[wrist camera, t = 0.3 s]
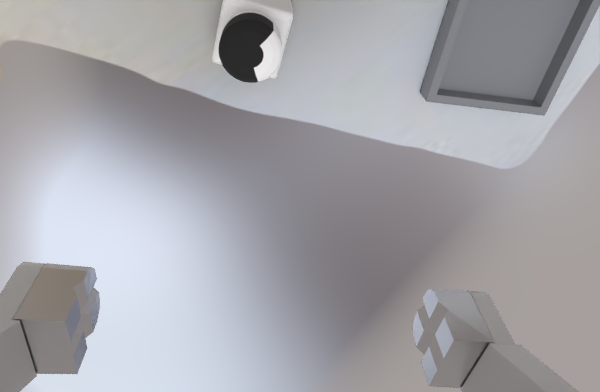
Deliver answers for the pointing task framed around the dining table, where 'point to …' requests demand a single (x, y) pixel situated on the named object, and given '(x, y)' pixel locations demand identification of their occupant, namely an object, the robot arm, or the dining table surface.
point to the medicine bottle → (252, 37)
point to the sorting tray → (505, 52)
